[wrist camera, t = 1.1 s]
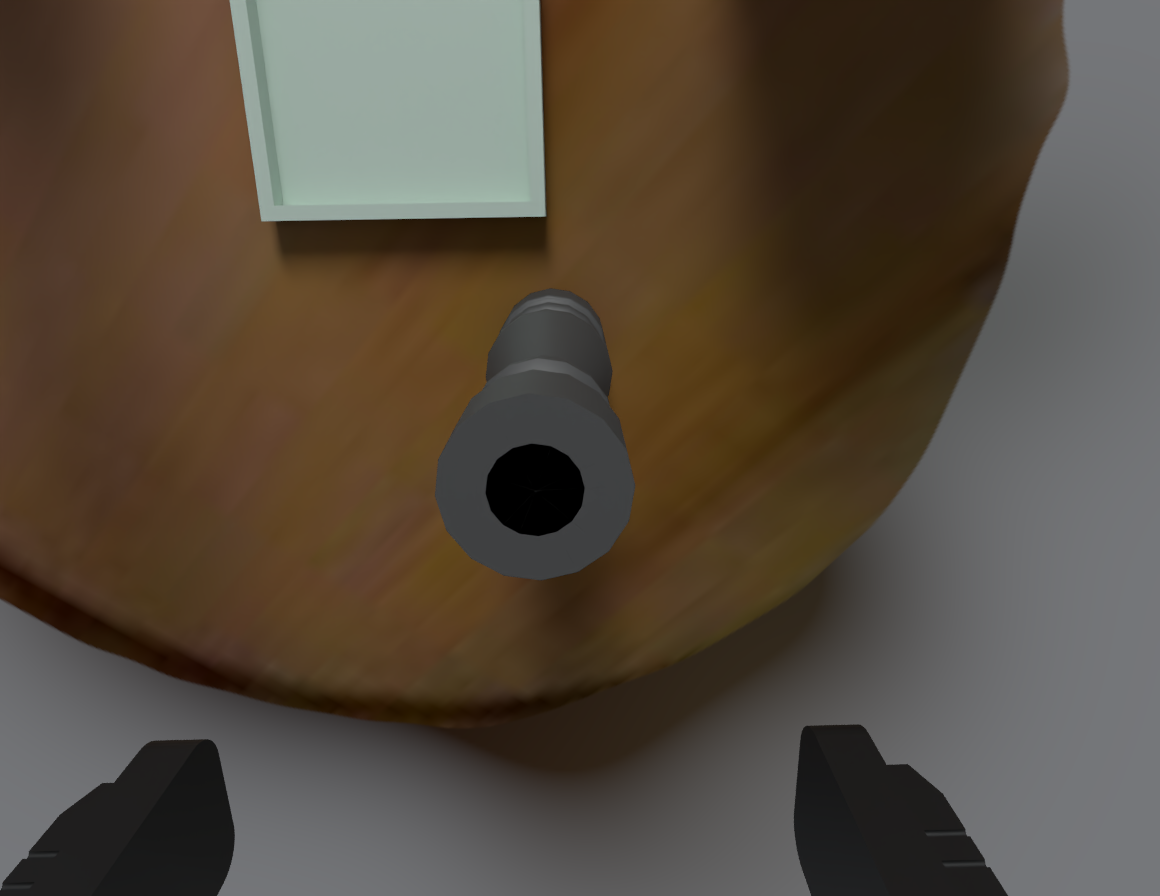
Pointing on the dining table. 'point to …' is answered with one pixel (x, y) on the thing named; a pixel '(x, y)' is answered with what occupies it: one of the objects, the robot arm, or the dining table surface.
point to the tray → (393, 107)
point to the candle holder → (539, 447)
